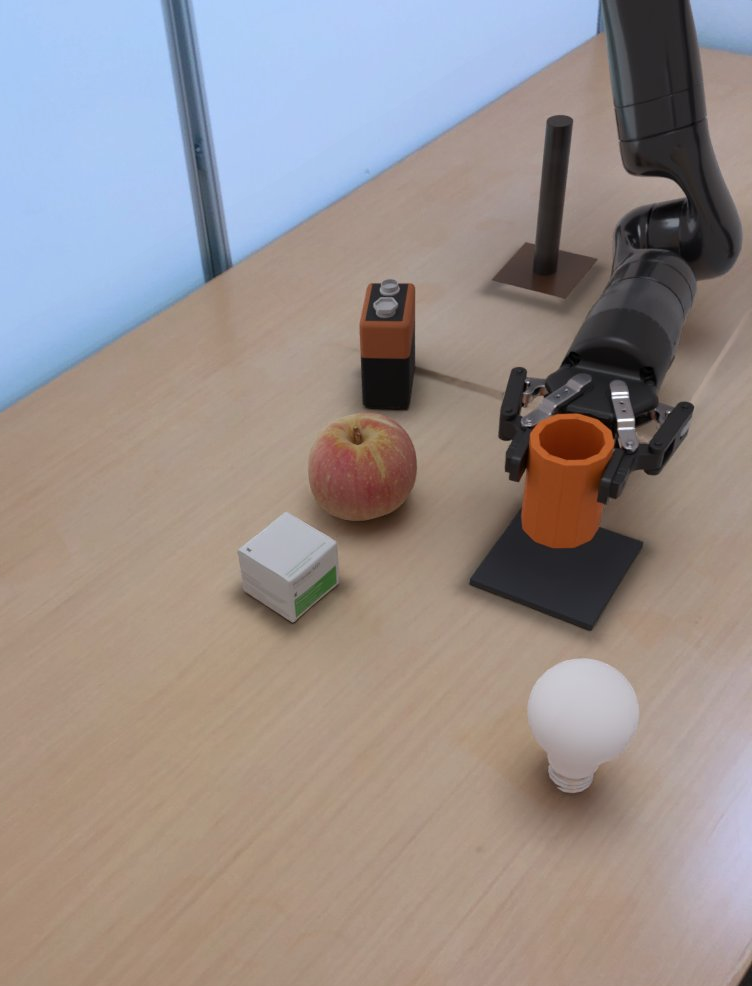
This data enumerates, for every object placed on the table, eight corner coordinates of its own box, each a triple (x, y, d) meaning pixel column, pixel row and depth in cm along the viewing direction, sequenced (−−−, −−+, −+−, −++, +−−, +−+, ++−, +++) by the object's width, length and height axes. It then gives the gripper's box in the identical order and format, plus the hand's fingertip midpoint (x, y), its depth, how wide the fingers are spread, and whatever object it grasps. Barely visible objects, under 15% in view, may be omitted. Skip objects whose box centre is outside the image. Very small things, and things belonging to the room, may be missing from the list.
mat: (642, 547, 86) (643, 541, 86) (590, 630, 81) (592, 625, 81) (525, 506, 91) (525, 501, 90) (469, 584, 86) (469, 578, 85)
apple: (431, 523, 90) (432, 447, 84) (329, 552, 89) (323, 477, 83) (394, 460, 96) (392, 384, 90) (297, 486, 95) (289, 411, 89)
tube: (609, 511, 83) (626, 427, 77) (579, 558, 80) (593, 474, 74) (541, 488, 85) (551, 405, 79) (509, 532, 82) (517, 449, 76)
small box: (293, 625, 85) (288, 582, 81) (241, 592, 87) (234, 548, 84) (342, 584, 87) (339, 539, 83) (290, 552, 90) (285, 507, 86)
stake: (596, 267, 113) (619, 109, 101) (564, 307, 109) (583, 147, 97) (524, 250, 116) (538, 95, 104) (490, 288, 112) (500, 131, 100)
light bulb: (574, 843, 70) (596, 743, 62) (497, 779, 74) (508, 677, 66) (641, 783, 73) (671, 679, 64) (563, 724, 76) (582, 619, 68)
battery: (361, 410, 101) (357, 315, 94) (370, 365, 105) (366, 271, 98) (409, 411, 100) (409, 315, 93) (415, 366, 105) (416, 272, 97)
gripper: (538, 289, 86) (462, 418, 77) (729, 324, 81) (672, 466, 71) (530, 369, 91) (458, 498, 82) (708, 406, 86) (652, 548, 77)
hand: (558, 482), depth 77 cm, fingers closed on tube, 5 cm apart
